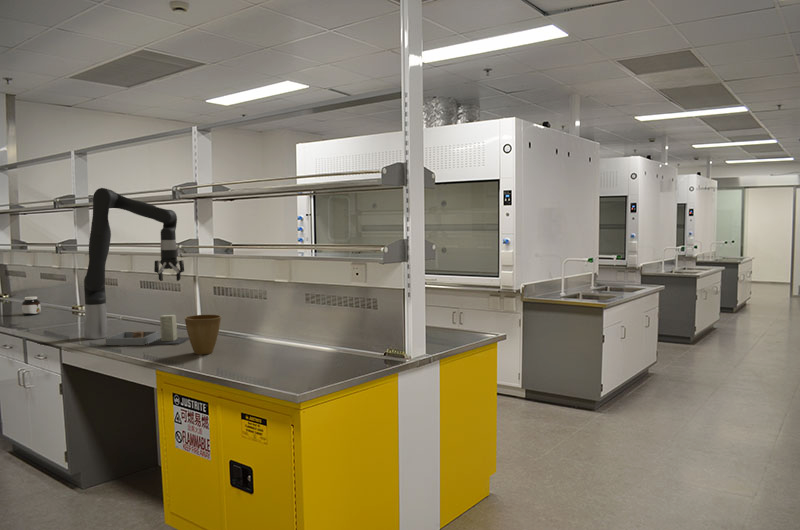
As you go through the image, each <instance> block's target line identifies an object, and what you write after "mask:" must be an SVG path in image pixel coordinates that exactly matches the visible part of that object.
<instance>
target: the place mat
mask: <svg viewBox="0 0 800 530" xmlns="http://www.w3.org/2000/svg"><path fill="white" fill-rule="evenodd" d="M188 339H189V336H186V337H185V336H184V337H182V336H181V337H178V336H177V339H176V340H174V341H162V340H161V337H160V338H159V339H157V340H155V341H152V342H150V343H148V344H149V346H168V345H167V344H180V345H181V344H183V343H185V342H187V341H189V340H188ZM186 340H187V341H186Z"/></svg>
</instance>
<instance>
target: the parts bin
mask: <svg viewBox="0 0 800 530" xmlns="http://www.w3.org/2000/svg"><path fill="white" fill-rule="evenodd" d="M133 332H134V331H122V332H119V333H117V334H113V335H111V336H109V337H108V336H107V337H105V346H106V345H144V346H145V344H146V345H147V343H148V344H149V342H150V343H151V342H153V341H154V340H156V339H157V340H158V338H159V339H160V338H161V337H160V336H161V334H160V330H158V331H157V330H155V331H154V330H152V331H150V330H149V331H147V330H145V331H144V337H143V338H133Z"/></svg>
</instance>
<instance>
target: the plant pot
mask: <svg viewBox="0 0 800 530" xmlns="http://www.w3.org/2000/svg"><path fill="white" fill-rule="evenodd" d="M221 320H222V316H221V315H219V314H196V315H189V316H185V317H184V322H185V327H186V332H187V337H189V340H188V341H189V343H190V345H191V347H192V350H193V352H194V354H195V355H199V356H201V355H203V354H204V355H210V354H212V353H213V352H214V349H215V346H216V343H217V340H218V336H219V331H220V328H221V327H220V326H221Z"/></svg>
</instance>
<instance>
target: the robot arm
mask: <svg viewBox="0 0 800 530" xmlns="http://www.w3.org/2000/svg"><path fill="white" fill-rule="evenodd" d="M110 209H119V210H123V211H127V212H130V213H132V214H134V215H138V216H141V217H144V218H146V219H151V220H154V221H156V222H159V223H160V224H161V223H162V224H163V226H162V229H160V260H154V268H153V271H154V273H157V274H158V280H159V281H160V282H162V281H163V280H164V274H163V272H164V271H165V270H168V269H169V270H173V271H175V272H176V274H175V275H176V276H175V277H176V281H177V282H179V281H180V280H181V279H182V278H181V274H182V273H184V272H185V262H184V260H183V259H182V260H178V259H177V258H178V253H177V249H178V247H177V240H176V228H177V225H178V224H177V223H178V216H177V213H176V212H175V211H174V210H172V209H165V208H162V207H159V206H156V205H154V204H151V203H148V202H144V201H140V200H135V199H131V198H128V197H126V196H123V195H121V194H119V193H117V192H116V191H114V190H111V189H109V188H105V187H99V188H98V189H96V190H95V191H94V193H93V195H92V217H91V218H92V219H91V226H90V232H89V240H88V265H87V271H86V274H85V276H84V278H83V287H84V288H83V289H84V308H85V319H84V320H83V324H84V325H83V327H84V339H86V340H99V339H106V338H108V319H107V318H108V316H107V297H106V263H107V259H108V255H109V251H110V245H111V237H112V233H111V227H110V222H109V213H110ZM160 264H161V267H160ZM177 265H179V267H178V266H177Z"/></svg>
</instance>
